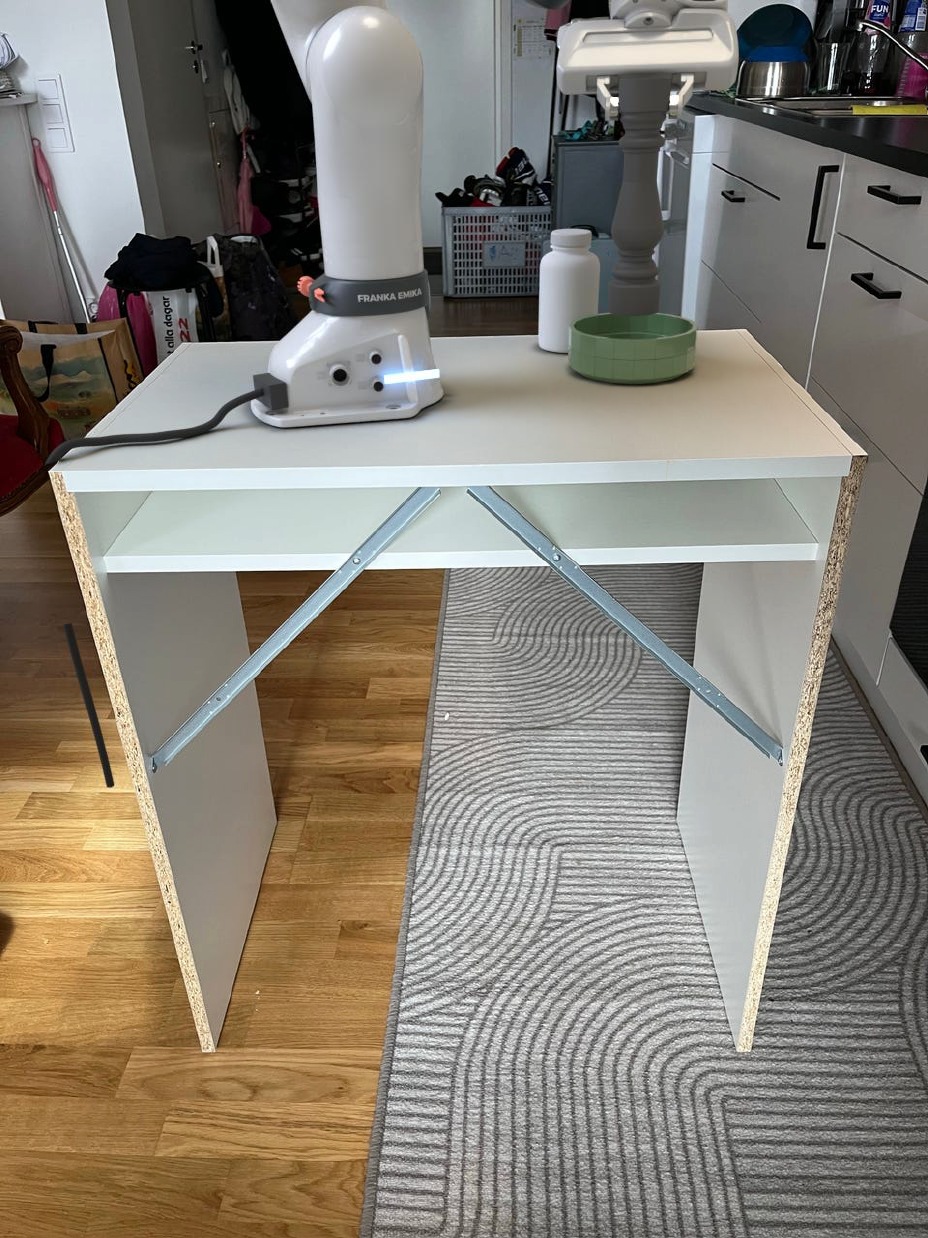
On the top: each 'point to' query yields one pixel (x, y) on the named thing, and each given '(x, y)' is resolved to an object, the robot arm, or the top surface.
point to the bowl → (632, 347)
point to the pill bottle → (566, 286)
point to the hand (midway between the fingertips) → (643, 115)
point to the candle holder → (639, 198)
